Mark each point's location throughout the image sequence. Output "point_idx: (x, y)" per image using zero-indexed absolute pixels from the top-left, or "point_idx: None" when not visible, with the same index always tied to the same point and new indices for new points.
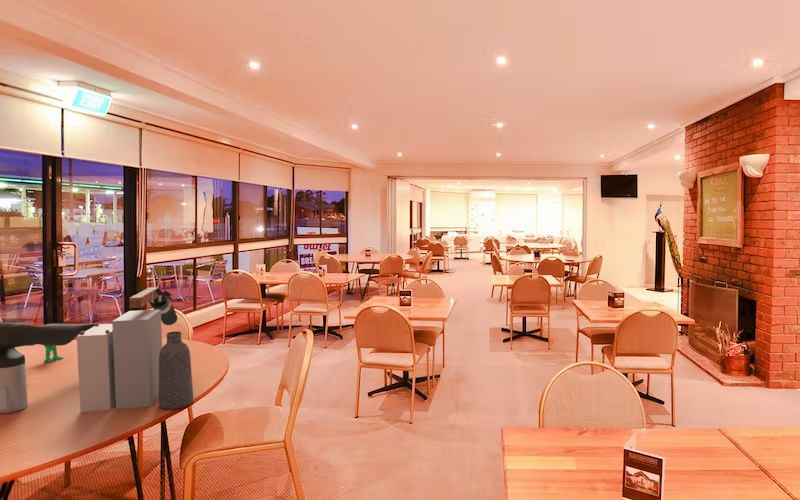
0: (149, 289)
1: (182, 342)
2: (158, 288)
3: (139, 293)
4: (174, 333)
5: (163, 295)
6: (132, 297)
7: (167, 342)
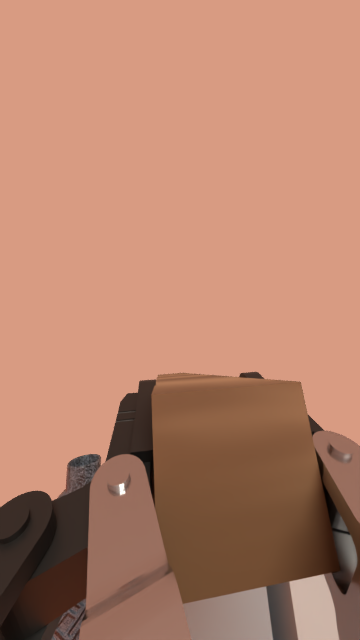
0: (196, 378)
1: (64, 490)
2: (139, 387)
3: (187, 374)
4: (81, 471)
5: (69, 586)
6: (177, 373)
7: None
